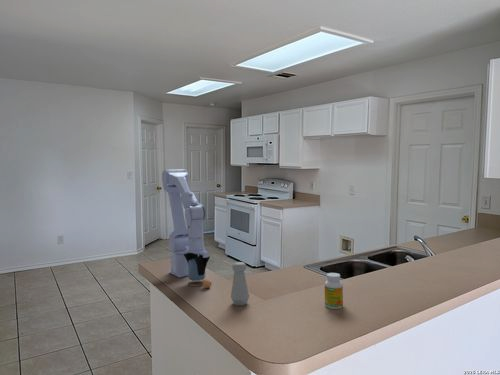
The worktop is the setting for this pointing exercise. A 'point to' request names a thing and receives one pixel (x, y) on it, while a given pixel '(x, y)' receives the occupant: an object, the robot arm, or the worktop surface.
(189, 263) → the cup
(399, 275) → the worktop surface
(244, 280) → the salt shaker
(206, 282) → the ball
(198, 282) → the disc
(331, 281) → the supplement bottle
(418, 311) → the worktop surface
